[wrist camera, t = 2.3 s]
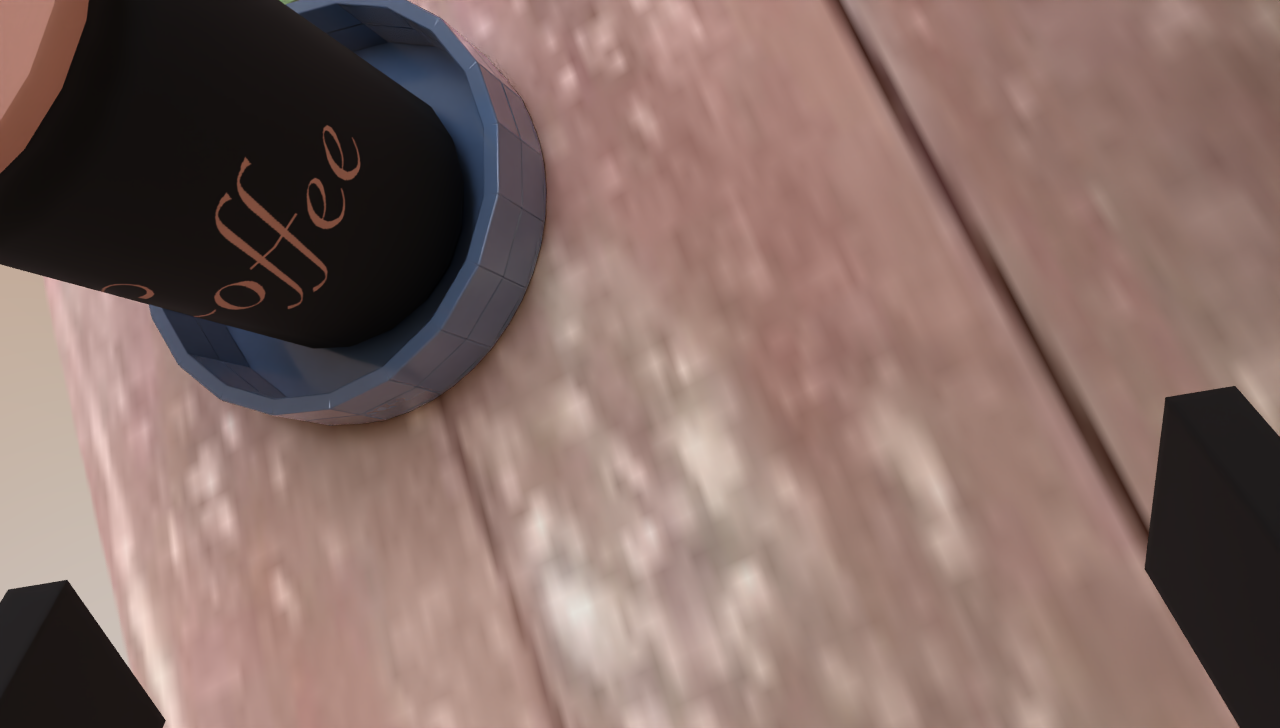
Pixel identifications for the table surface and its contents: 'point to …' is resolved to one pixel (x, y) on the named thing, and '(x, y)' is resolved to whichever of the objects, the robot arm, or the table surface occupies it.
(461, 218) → the coffee jar
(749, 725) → the table surface
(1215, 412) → the robot arm
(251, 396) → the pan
